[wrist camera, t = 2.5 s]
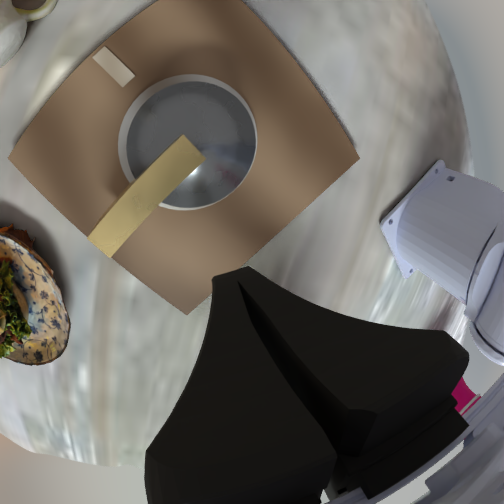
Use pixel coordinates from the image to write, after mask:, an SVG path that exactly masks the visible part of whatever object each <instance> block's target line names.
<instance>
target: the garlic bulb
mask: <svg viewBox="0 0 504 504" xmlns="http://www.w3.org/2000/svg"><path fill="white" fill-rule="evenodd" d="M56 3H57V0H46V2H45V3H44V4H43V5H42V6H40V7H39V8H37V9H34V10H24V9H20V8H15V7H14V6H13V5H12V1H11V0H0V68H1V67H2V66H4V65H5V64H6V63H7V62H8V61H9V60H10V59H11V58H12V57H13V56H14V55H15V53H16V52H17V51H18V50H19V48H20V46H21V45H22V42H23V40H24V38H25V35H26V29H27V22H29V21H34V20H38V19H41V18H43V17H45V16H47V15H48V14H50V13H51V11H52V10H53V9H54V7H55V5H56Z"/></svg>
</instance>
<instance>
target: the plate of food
mask: <svg viewBox="0 0 504 504" xmlns="http://www.w3.org/2000/svg"><path fill="white" fill-rule="evenodd" d="M34 240H35V237H34V239H33V241H31V239H30V237H29V236H28V234H27V231H26V230H25V231H23V230H17V229H16V230H14V228H13V224H12V225H11V226H9V227H3V228H0V358H1V359H2V356H3V357H4V358H7V359H10V360H12V361H14V362H17V363H19V364H20V363H21V364H25V365H31V366H32V365H37V366H38V365H44V364H47V363H51V362H52V361H54V360H55V359H57V358H59V357H60V356H61V355H62V353H63V352H64V350H65V349H66V347H67V343H68V339H69V333H70V328H71V322H70V319H69V316H68V313H67V310H66V307H65V304H64V301H63V298H62V293H61V290H60V287H59V286H58V285H57V283H56V281H55V278H54V276H53V271H52V269H51V268H50V267H49V265H48V264H47V263H46V261H44V260H43V259H42V258H41V257H40V256H39V255H38V254H37V253H36V252H35V250H33V249H32V244H33V242H34Z"/></svg>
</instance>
